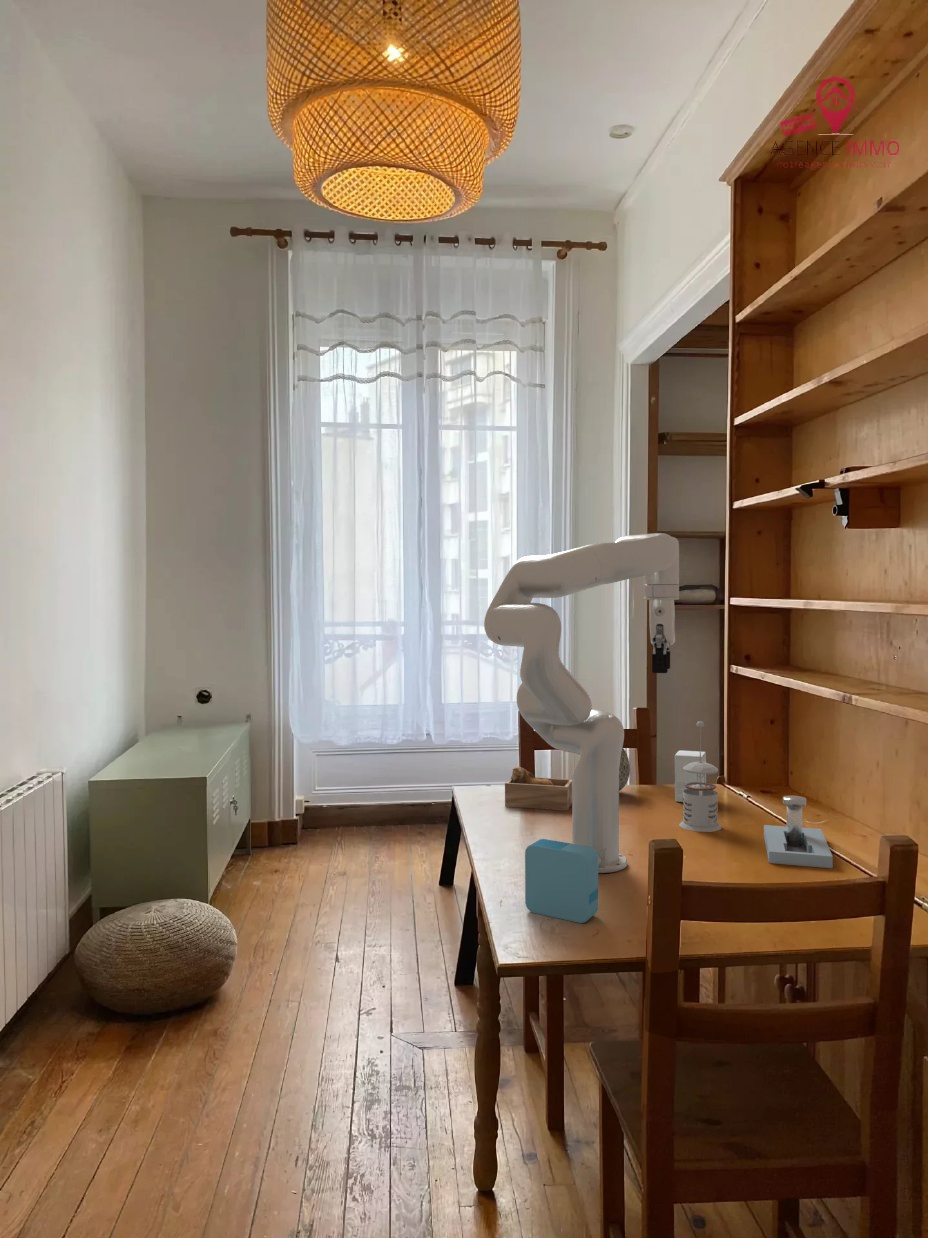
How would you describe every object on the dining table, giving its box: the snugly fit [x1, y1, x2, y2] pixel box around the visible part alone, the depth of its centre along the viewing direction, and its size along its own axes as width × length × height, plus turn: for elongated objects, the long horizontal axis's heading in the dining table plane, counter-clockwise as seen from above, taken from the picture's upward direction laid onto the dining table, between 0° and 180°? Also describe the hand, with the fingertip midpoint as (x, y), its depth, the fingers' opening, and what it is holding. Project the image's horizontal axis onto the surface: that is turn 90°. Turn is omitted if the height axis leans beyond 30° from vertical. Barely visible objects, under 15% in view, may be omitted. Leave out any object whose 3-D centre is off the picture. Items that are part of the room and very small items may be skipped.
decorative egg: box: [619, 747, 631, 792], centre depth 229 cm, size 12×12×15 cm
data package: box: [524, 838, 599, 924], centre depth 144 cm, size 12×4×12 cm, turn 58°
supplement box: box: [674, 749, 707, 803], centre depth 222 cm, size 7×7×13 cm
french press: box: [678, 720, 723, 833], centre depth 198 cm, size 10×12×25 cm
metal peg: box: [782, 795, 807, 847], centre depth 181 cm, size 5×5×10 cm
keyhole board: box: [763, 824, 834, 869], centre depth 178 cm, size 20×12×2 cm, turn 163°
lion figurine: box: [510, 766, 553, 786], centre depth 219 cm, size 15×5×9 cm, turn 62°
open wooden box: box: [504, 776, 572, 811], centre depth 219 cm, size 9×16×6 cm, turn 73°
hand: (661, 670), depth 183 cm, fingers open, 9 cm apart
